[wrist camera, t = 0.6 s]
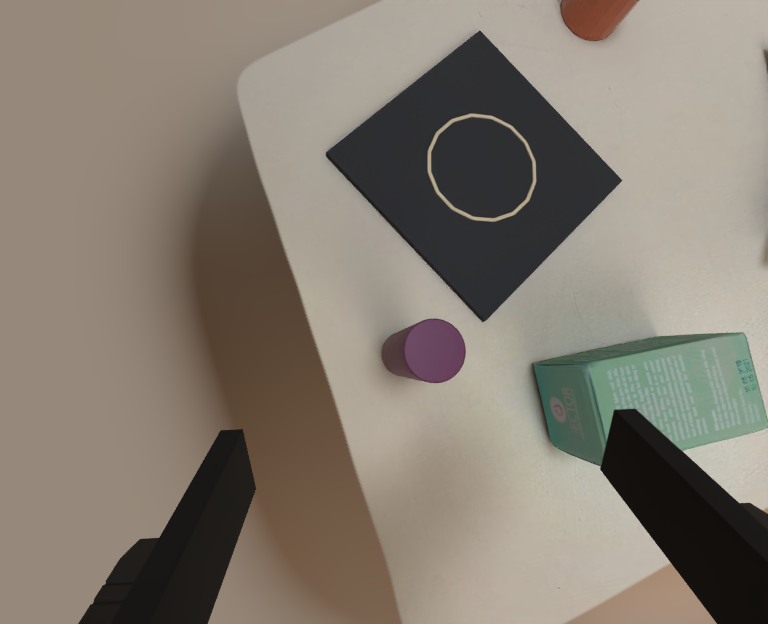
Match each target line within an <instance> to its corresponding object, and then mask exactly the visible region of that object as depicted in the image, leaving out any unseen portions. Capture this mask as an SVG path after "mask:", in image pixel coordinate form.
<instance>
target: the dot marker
mask: <svg viewBox="0 0 768 624" xmlns="http://www.w3.org/2000/svg"><path fill="white" fill-rule="evenodd" d="M465 353H466V350H465V343H464V340H463V338H462V336H461V334H460V332H459V331H458V330H457V329H456V328H455V327H454V326H453V325H452V324H450V323H448V322H446V321H444V320H440V319H427V320H424V321H421V322H419V323H417V324H415V325H412V326H410V327H408V328H406V329H404V330H401V331H399V332H397V333H395V334H393V335H391V336H390V337H389V338H388V339H387V340H386V342H385V343H384V346H383V349H382V359H383V362H384V364H385V366H386V367H387V369H388V370H389V371H390V372H392V373H393V374H395V375H398V376H402V377H407V378H411V379H416V380H420V381H425V382H430V383H441V382H445V381H447V380H449V379H451V378H452V377H454V376H455V375H456V374H457V373H458V372H459V371H460V369H461V367H462V365H463V363H464V360H465Z"/></svg>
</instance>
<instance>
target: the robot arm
mask: <svg viewBox="0 0 768 624" xmlns="http://www.w3.org/2000/svg"><path fill="white" fill-rule="evenodd" d="M600 470H601V471H602V472H603V474H604V475H605V476H606V478H607V479H608V480H609V482H610V483H611V484H612V486H613V487H614V488H615V490H616V491H617V492H618V494H619V495H620V496H621V497H622V499H623V500H624V501H625V503H626V504H627V505H628V507H629V508H630V509H631V511H632V512H633V513H634V515H635V516H636V517H637V519H638V520H639V521H640V523H641V524H642V525H643V527H644V528H645V529H646V530H647V532H648V533H649V534H650V536H651V537H652V538H653V540H654V541H655V542H656V544H657V545H658V546H659V548H660V549H661V550H662V552H663V553H664V554H665V556H666V557H667V558H668V559H669V561H670V562H671V563H672V565H673V566H674V567H675V569H676V570H677V571H678V573H679V574H680V575H681V577H682V578H683V579H684V581H685V582H686V583H687V585H688V586H689V587H690V589H691V590H692V591H693V592H694V594H695V595H696V596H697V598H698V599H699V600H700V602H701V603H702V604H703V606H704V607H705V608H706V609H707V611H708V612H709V614H710V615H711V616H712V618H713V619H714V620H715V621H716V623H717V624H768V514H767V513H765V512H764V511H762V510H760V509H759V508H757V507H756V506H754V505H752V504H751V503H738V502H737V501H736V500H735V499H734V498H733V497H732V496H731V495H730V494H729V493H727V492H726V491H725V490H724V489H723V488H722V487H721V486H720V485H719V484H718V483H716V482H715V481H714V480H713V479H712V478H711V477H710V476H709V475H708V474H707V473H706V472H704V471H703V470H702V469H701V468H700V467H699V466H698V465H697V464H696V463H695V462H693V461H692V460H691V459H690V458H689V457H688V456H687V455H686V454H685V453H684V452H683V451H681V450H680V449H679V448H678V447H677V446H676V445H675V444H674V443H673V442H672V441H670V440H669V439H668V438H667V437H666V436H665V435H664V434H663V433H662V432H661V431H660V430H658V429H657V428H656V427H655V426H654V425H653V424H652V423H651V422H650V421H649V420H647V419H646V418H645V417H644V416H643V415H642V414H641V413H640V412H639V411H638V410H636V409H616V410H614V412H613V416H612V421H611V425H610V429H609V434H608V438H607V442H606V447H605V451H604V455H603V460H602V464H601V468H600ZM255 490H256V487H255V482H254V478H253V473H252V469H251V464H250V460H249V456H248V451H247V446H246V442H245V438H244V433H243V429H240V430H222V431H220V433H219V434H218V436H217V438H216V440H215V441H214V443H213V445H212V447H211V448H210V450H209V452H208V454H207V455H206V457H205V459H204V461H203V462H202V464H201V466H200V468H199V469H198V471H197V473H196V475H195V476H194V478H193V480H192V482H191V483H190V485H189V487H188V489H187V490H186V492H185V494H184V496H183V498H182V499H181V501H180V503H179V504H178V506H177V508H176V510H175V512H174V513H173V515H172V517H171V518H170V520H169V522H168V524H167V525H166V527H165V529H164V531H163V532H162V534H161V536H160V538H151V539H150V538H149V539H140V540H139V541H138V542H137V543H136V544H135V545H133V546H132V547H131V548H130V549H129V550H128V551H127V552H126V554H124V555H123V556H122V557H121V558H120V560H119V561H118V563H117V564H116V566H115V567H114V569H113V571H112V572H111V574H110V575H109V577H108V578H107V580H106V584H105V585H103V586H102V588H101V589H100V591H99V592H98V594H97V596H96V597H95V599H94V603H93V604H92V605H90V606H89V608H88V610H87V611H86V613H85V614H84V616H83V617H82V619H81V620H80V622H79V624H208V621H209V618H210V615H211V613H212V610H213V607H214V604H215V601H216V599H217V596H218V593H219V590H220V588H221V585H222V582H223V579H224V576H225V574H226V571H227V568H228V565H229V562H230V559H231V557H232V554H233V551H234V548H235V545H236V543H237V540H238V537H239V534H240V532H241V529H242V526H243V523H244V520H245V518H246V515H247V512H248V509H249V506H250V504H251V501H252V498H253V495H254V493H255Z"/></svg>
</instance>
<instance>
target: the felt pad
mask: <svg viewBox="0 0 768 624" xmlns="http://www.w3.org/2000/svg"><path fill="white" fill-rule="evenodd" d="M326 156H327V157H328V158H329V159H330V160H331V162H332V163H333V164H334V165H335V166H336V167H337V168H338V169H339V170H340V171H341V172H342V173H343V174H344V175H345V176H346V177H347V178H348V180H349V181H350V182H351V183H352V184H353V185H354V186H355V187H356V188H357V189H358V190H359V191H360V192H361V193H362V194H363V195H364V196H365V197H366V199H367V200H368V201H369V202H370V203H371V204H372V205H373V206H374V207H375V208H376V209H377V210H378V211H379V212H380V213H381V214H382V215H383V217H384V218H385V219H386V220H387V221H388V222H389V223H390V224H391V225H392V226H393V227H394V228H395V229H396V230H397V231H398V232H399V233H400V234H401V236H402V237H403V238H404V239H405V240H406V241H407V242H408V243H409V244H410V245H411V246H412V247H413V248H414V249H415V250H416V251H417V252H418V254H419V255H420V256H421V257H422V258H423V259H424V260H425V261H426V262H427V263H428V264H429V265H430V266H431V267H432V268H433V269H434V270H435V271H436V273H437V274H438V275H439V276H440V277H441V278H442V279H443V280H444V281H445V282H446V283H447V284H448V285H449V286H450V287H451V288H452V289H453V291H454V292H455V293H456V294H457V295H458V296H459V297H460V298H461V299H462V300H463V301H464V302H465V303H466V304H467V305H468V306H469V307H470V308H471V310H472V311H473V312H474V313H475V314H476V315H477V316H478V317H479V318H480V319H481V320H482V321H486V320H487V319H488V318H489V317H490V316H491V315H492V314H493V313H494V312H495V311H496V310H497V309H498V308H499V306H500V305H501V304H502V303H503V302H504V301H505V300H506V299H507V298H508V297H509V296H510V295H511V294H512V293H513V292H514V291H515V290H516V289H517V288H518V287H519V286H520V285H521V284H522V283H523V282H524V281H525V280H526V279H527V278H528V277H529V276H530V275H531V274H532V273H533V272H534V271H535V270H536V269H537V267H538V266H539V265H540V264H541V263H542V262H543V261H544V260H545V259H546V258H547V257H548V256H549V255H550V254H551V253H552V252H553V251H554V250H555V249H556V248H557V247H558V246H559V245H560V244H561V243H562V242H563V241H564V240H565V239H566V238H567V237H568V236H569V235H570V234H571V233H572V232H573V231H574V229H575V228H576V227H577V226H578V225H579V224H580V223H581V222H582V221H583V220H584V219H585V218H586V217H587V216H588V215H589V214H590V213H591V212H592V211H593V210H594V209H595V208H596V207H597V206H598V205H599V204H600V203H601V202H602V201H603V200H604V199H605V198H606V197H607V196H608V195H609V194H610V193H611V192H612V190H613V189H614V188H615V187H616V186H617V185H618V184H619V183H620V182H621V181H622V180H621V179H620V178H619V177H618V175H617V174H616V173H615V172H614V171H613V170H612V169H611V168H610V167H609V166H608V165H607V164H606V163H605V162H604V161H603V160H602V159H601V158H600V157H599V155H598V154H597V153H596V152H595V151H594V150H593V149H592V148H591V147H590V146H589V145H588V144H587V143H586V142H585V141H584V140H583V139H582V138H581V136H580V135H579V134H578V133H577V132H576V131H575V130H574V129H573V128H572V127H571V126H570V125H569V124H568V123H567V122H566V121H565V120H564V119H563V117H562V116H561V115H560V114H559V113H558V112H557V111H556V110H555V109H554V108H553V107H552V106H551V105H550V104H549V103H548V102H547V101H546V100H545V99H544V97H543V96H542V95H541V94H540V93H539V92H538V91H537V90H536V89H535V88H534V87H533V86H532V85H531V84H530V83H529V82H528V81H527V80H526V78H525V77H524V76H523V75H522V74H521V73H520V72H519V71H518V70H517V69H516V68H515V67H514V66H513V65H512V64H511V63H510V62H509V61H508V59H507V58H506V57H505V56H504V55H503V54H502V53H501V52H500V51H499V50H498V49H497V48H496V47H495V46H494V45H493V44H492V43H491V42H490V41H489V39H488V38H487V37H486V36H485V35H484V34H483V33H482V32H481V31H479V32H477V33H476V34H475V35H474V36H472V37H471V38H470V39H468V40H467V41H466V42H465V43H463V44H462V45H461V46H460V47H458V48H457V49H456V50H455V51H453V52H452V53H451V54H450V55H448V56H447V57H446V58H445V59H443V60H442V61H441V62H440V63H438V64H437V65H436V66H434V67H433V68H432V69H431V70H429V71H428V72H427V73H426V74H424V75H423V76H422V77H421V78H419V79H418V80H417V81H416V82H414V83H413V84H412V85H411V86H409V87H408V88H407V89H406V90H404V91H403V92H402V93H400V94H399V95H398V96H397V97H395V98H394V99H393V100H392V101H390V102H389V103H388V104H387V105H385V106H384V107H383V108H382V109H380V110H379V111H378V112H377V113H375V114H374V115H373V116H372V117H370V118H369V119H368V120H366V121H365V122H364V123H363V124H361V125H360V126H359V127H358V128H356V129H355V130H354V131H353V132H351V133H350V134H349V135H348V136H346V137H345V138H344V139H343V140H341V141H340V142H339V143H338V144H336V145H335V146H334V147H332V148H331V149H330V150H329V151H327V152H326Z"/></svg>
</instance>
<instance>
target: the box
mask: <svg viewBox="0 0 768 624" xmlns="http://www.w3.org/2000/svg"><path fill="white" fill-rule="evenodd" d="M533 366H534V370H535V374H536V378H537V383H538V387H539V391H540V395H541V399H542V404H543V408H544V412H545V417H546V421H547V426H548V431H549V436H550V439H551V442H552V444H553V445H554V446H555V447H557V448H558V449H560V450H562V451H564V452H566V453H568V454H570V455H573V456H575V457H578V458H580V459H583V460H585V461H588V462H590V463H593V464H596V465H598V466H601V464H602V460H603V455H604V451H605V447H606V442H607V438H608V434H609V429H610V425H611V421H612V416H613V412H614V410H616V409H636V410H638V411H639V412H640V413H641V414H642V415H643V416H644V417H645V418H646V419H647V420H649V421H650V422H651V423H652V424H653V425H654V426H655V427H656V428H657V429H658V430H660V431H661V432H662V433H663V434H664V435H665V436H666V437H667V438H668V439H669V440H670V441H672V442H673V443H674V444H675V445H676V446H677V447H678V448H679V449H680V450H681V451H682V450H686V449H690V448H694V447H698V446H702V445H706V444H710V443H714V442H718V441H722V440H726V439H730V438H734V437H738V436H742V435H746V434H750V433H754V432H757V431H760V430H763V429H766V428H768V419H767V415H766V411H765V408H764V404H763V400H762V396H761V392H760V388H759V385H758V381H757V377H756V373H755V369H754V365H753V361H752V358H751V354H750V350H749V346H748V342H747V338H746V336H745V334H744V332H740V333H716V334H692V335H675V336H659V337H653V338H648V339H643V340H639V341H634V342H629V343H624V344H619V345H615V346H610V347H605V348H600V349H596V350H591V351H586V352H581V353H577V354H572V355H568V356H563V357H559V358H554V359H549V360H544V361H540V362H537V363H533Z"/></svg>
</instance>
